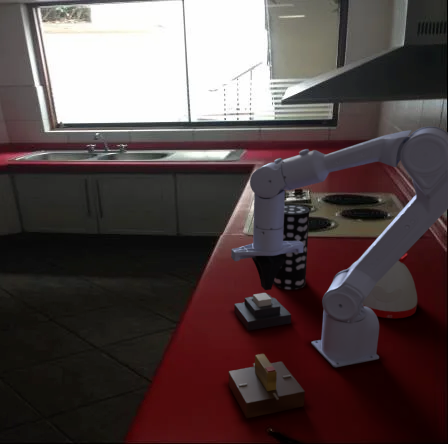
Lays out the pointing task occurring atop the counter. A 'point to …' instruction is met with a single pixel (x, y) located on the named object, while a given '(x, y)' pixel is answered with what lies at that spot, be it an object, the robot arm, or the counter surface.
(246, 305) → the grey stepped block
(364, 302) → the kitchen timer
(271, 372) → the yellow rectangular block
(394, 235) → the robot arm
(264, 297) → the white square block
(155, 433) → the counter surface
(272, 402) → the panel
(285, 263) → the white-spotted black cylinder
